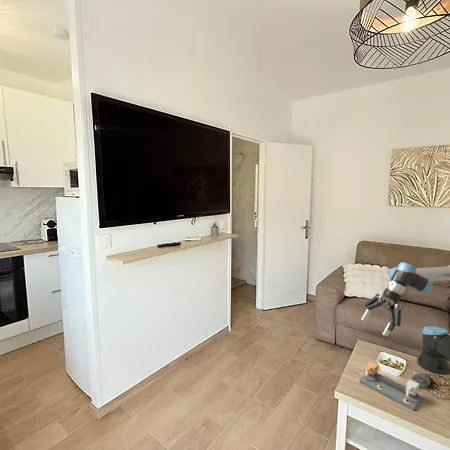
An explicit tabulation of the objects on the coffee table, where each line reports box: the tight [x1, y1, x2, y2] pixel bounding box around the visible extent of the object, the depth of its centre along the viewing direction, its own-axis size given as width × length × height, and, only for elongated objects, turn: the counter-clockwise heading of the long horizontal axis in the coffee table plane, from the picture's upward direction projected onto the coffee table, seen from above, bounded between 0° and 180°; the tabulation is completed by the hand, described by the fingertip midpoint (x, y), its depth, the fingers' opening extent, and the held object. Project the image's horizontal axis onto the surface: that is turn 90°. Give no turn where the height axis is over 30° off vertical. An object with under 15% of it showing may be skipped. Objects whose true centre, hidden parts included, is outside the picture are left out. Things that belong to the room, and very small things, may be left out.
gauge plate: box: [359, 372, 424, 412], centre depth 139 cm, size 12×25×8 cm, turn 38°
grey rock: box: [411, 370, 434, 390], centre depth 145 cm, size 7×11×10 cm
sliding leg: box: [364, 361, 379, 379], centre depth 147 cm, size 9×4×5 cm, turn 128°
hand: (373, 327), depth 139 cm, fingers open, 13 cm apart
